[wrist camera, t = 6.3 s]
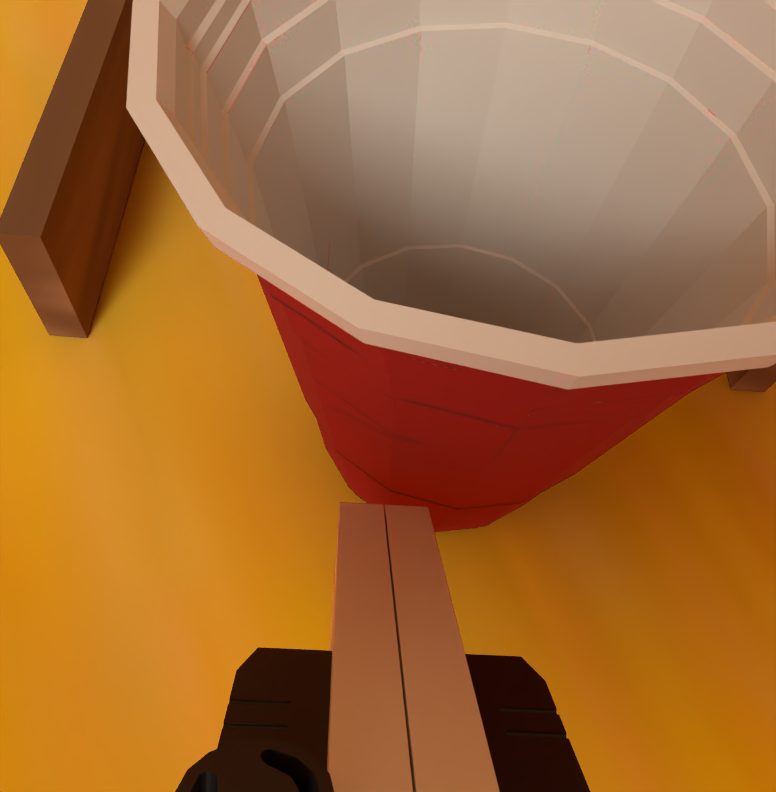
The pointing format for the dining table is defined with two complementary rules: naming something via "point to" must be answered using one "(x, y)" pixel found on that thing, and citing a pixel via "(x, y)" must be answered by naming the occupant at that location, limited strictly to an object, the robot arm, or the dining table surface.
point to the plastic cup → (479, 216)
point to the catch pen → (98, 182)
